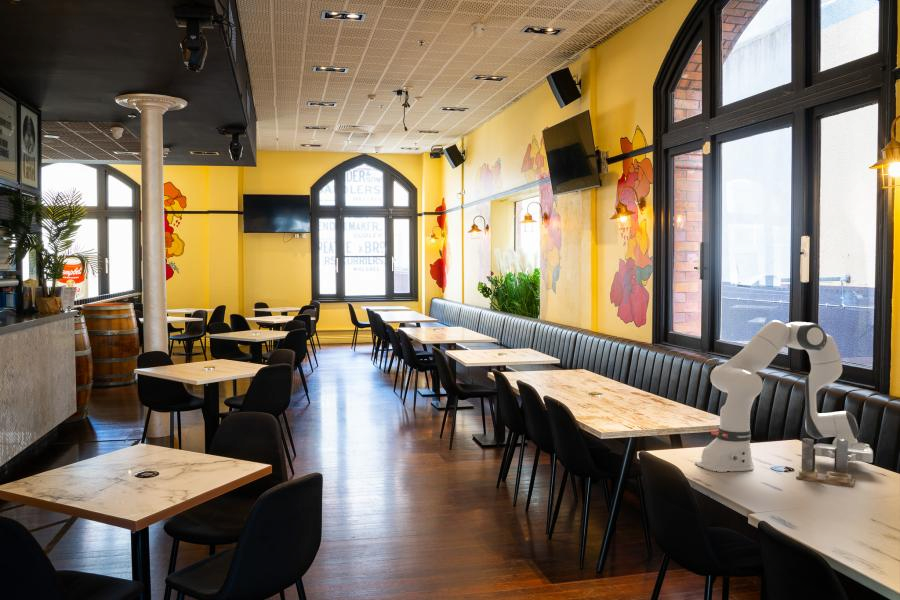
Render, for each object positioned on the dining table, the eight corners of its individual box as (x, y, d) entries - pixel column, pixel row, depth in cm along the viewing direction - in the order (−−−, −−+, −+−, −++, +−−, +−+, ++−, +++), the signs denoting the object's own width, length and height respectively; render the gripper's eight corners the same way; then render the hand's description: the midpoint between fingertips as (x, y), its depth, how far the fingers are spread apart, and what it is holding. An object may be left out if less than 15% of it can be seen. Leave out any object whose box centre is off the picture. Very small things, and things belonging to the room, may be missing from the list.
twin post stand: (796, 478, 262) (796, 440, 261) (799, 473, 269) (800, 435, 269) (853, 487, 252) (854, 447, 251) (855, 480, 259) (856, 441, 259)
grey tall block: (834, 475, 266) (834, 439, 266) (834, 473, 269) (835, 438, 268) (846, 477, 264) (847, 441, 263) (847, 475, 267) (848, 439, 266)
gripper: (814, 438, 283) (810, 445, 271) (874, 445, 271) (872, 452, 260) (814, 453, 283) (810, 461, 271) (873, 461, 272) (871, 469, 260)
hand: (841, 457), depth 265 cm, fingers closed on grey tall block, 4 cm apart
